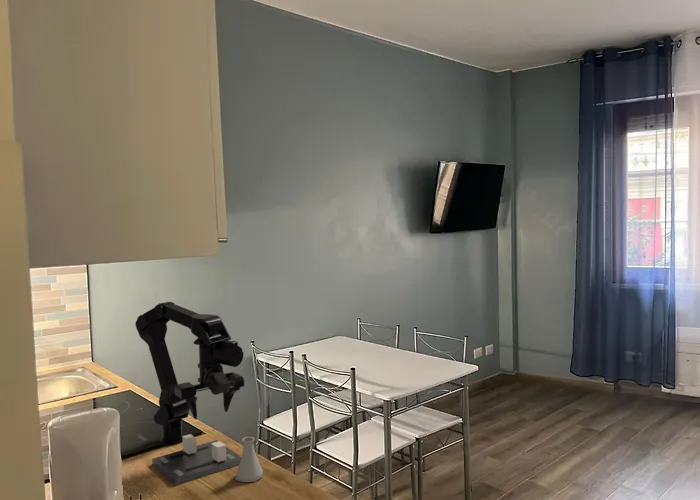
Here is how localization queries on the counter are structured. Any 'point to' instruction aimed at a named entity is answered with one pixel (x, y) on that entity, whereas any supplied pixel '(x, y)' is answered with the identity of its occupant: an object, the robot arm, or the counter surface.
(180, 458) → the dark grey flat plate
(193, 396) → the robot arm
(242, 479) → the flask
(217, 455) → the block
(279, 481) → the counter surface
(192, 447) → the block
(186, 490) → the counter surface
